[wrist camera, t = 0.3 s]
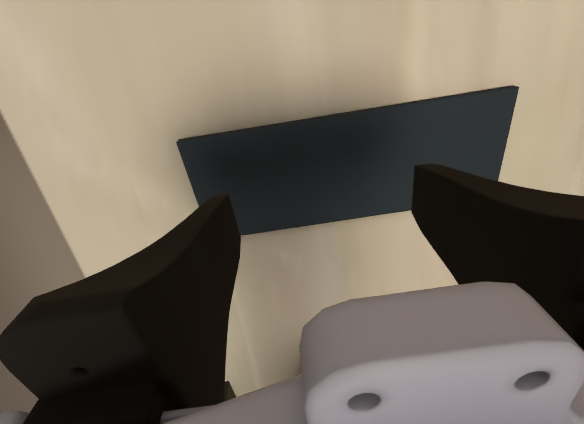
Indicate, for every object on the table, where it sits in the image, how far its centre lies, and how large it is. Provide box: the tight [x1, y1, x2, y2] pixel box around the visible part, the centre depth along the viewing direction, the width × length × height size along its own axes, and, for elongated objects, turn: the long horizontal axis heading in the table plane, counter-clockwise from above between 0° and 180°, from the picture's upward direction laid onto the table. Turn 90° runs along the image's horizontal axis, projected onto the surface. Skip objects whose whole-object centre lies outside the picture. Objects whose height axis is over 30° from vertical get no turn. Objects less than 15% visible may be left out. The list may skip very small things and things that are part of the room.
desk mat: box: [176, 86, 519, 236], centre depth 22 cm, size 8×22×1 cm, turn 98°
